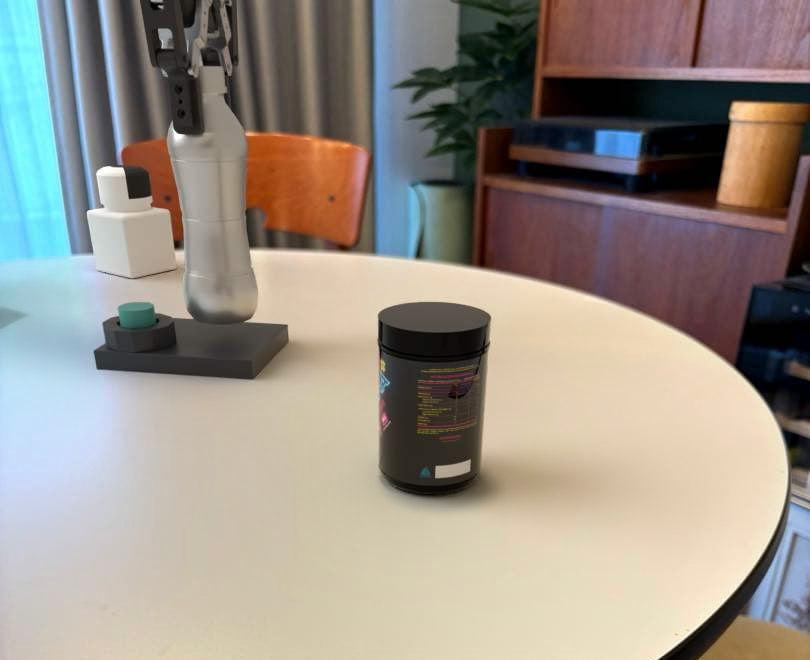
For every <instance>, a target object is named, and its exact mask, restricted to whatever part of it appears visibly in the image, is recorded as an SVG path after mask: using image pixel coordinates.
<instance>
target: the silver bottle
mask: <svg viewBox="0 0 810 660" xmlns="http://www.w3.org/2000/svg"><path fill="white" fill-rule="evenodd" d="M193 79H199V80H200V90H201V101H202V111H203V122H204V131H203V132H202V133H201V134H198V135H185V134H177V133H176V132H175V131H174V128H173V120H172V119H171V122H170V125H169V127H168V130H167V138H166V146H167V151H168V155H169V157H170V158H169V160H170V164H171V165H170V166H171V168H172V173H173V176H174V181H175V185H176V189H177V190H176V191H177V195H178V200H179V207H180V211H181V214H182V215H181V220H182V227H183V255H184V257H183V258H184V269H183V277H182V297H183V299H184V304H185V308H186V310H187V312H188V314H189V315H190V317H192V318H191V319H194V320H196V321H198V322H201V323H206V324H215V325H228V324H236V323H241V322H248V321H250V320H251V319H252V318H253V317H254V315H255V313H256V312H257V310H258V302H259V300H258V299H259V289H258V283H257V278H256V274H255V270H254V268H253V266H252V265H253V263H252V257H251V250H250V243H249V236H248V231H247V215H246V210H247V199H246V194H247V193H246V190H247V189H246V188H247V173H248V154H249V149H248V148H249V145H248V144H249V142H248V139H247V136H246V132H245V129H244V128H243V126H242V124H241V123H240V121H239V119H238V117H237V116H236V115H235V114H234V113H233V111H231V110H232V109H231V110H230V108H229V107H228V106H227V104H226V103H225V100H224V93H227V87H226V86H225V75H224V70H223V67H218V66H199V73H198V77H197V78H193Z"/></svg>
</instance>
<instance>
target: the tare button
mask: <svg viewBox="0 0 810 660" xmlns="http://www.w3.org/2000/svg"><path fill="white" fill-rule="evenodd" d="M117 312H118V316H119V319H120V325H121V327H128V328H140V327H148V326H152V325H156V324H157V323H156V316H155V313H156V309H155V305H154V303H151V302H146V301H132V302H126V303H122V304H120V305H119V306H118V307H117Z"/></svg>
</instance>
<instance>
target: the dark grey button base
mask: <svg viewBox="0 0 810 660" xmlns="http://www.w3.org/2000/svg"><path fill="white" fill-rule="evenodd" d="M155 316H156V323H157V324H156V325H152V326H148V327H140V328H128V327H121V325H120V319H119V315H116V316H112V317H109V318H108V319H106V320H104V321H102V323H101V324H102V325H101V326H102V330H103V337H104V343H102V345H100V346H98V347H97V348H95V349H94V350H93V356H94V357H93V358H94V362H95V368H96V370H101V371H118V372H130V373H131V372H133V373H146V374H147V373H148V374H163V375H177V376H190V377H191V376H192V377H205V378H206V377H207V378H219V379H220V378H221V379H235V380H236V379H237V380H251V381H252V380H254V379H255V378H256V377H257V376H258V375H259V374H260V373H261V371H263V370H264V368H266V367H267V366H268V364H269V363H271V362H272V360H274V358H275V357H276V356H277V355H278V354H279V353H280V352H281V351H282V350H283V348H285V346H286V345H287V344H288V343H289V342H290V339H289V324H286V323H269V322H253V321H251V322H250V321H245V322H241V323H236V324H228V325H215V324H206V323H201V322H198V321H196V320H194V319H193V318H182V317H172V316H170V315H167V314H164V313H159V312H155Z"/></svg>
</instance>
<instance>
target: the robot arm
mask: <svg viewBox="0 0 810 660" xmlns="http://www.w3.org/2000/svg"><path fill="white" fill-rule="evenodd" d="M237 1H238V0H139V4H140V10H141V16H142V22H143V28H144V34H145V39H146V45H147V50H148V51H147V52H148V56H149V61H150V65H151V66H152V68H153V69H154V68H155V69H161V72H162V75H163V77H164V78H167V82H168V83H167V84H168V85H167V86H168V93H169V101H170V102H169V103H170V110H171V121H172V120H173V128H174V131H175V132H176V133H177V134H185V135H198V134H201V133H202V132H203V131H204V122H203V111H202V101H201V90H200V80H199V79H193V78H197V77H198V73H199V66H218V67H223V70H224V75H225V86H226V87H227V93H224V100H225V103H226V104H227V106H228V107H229V108H230V110H231V111H232V100H231V99H232V98H231V88H230V87H231V86H230V78H229V77H231V76H232V75H233V67H236V68H237V67H238V66H239V63H240V62H239V61H240V55H239V31H238V29H239V28H238V27H239V26H238V25H239V24H238V2H237ZM232 112H233V111H232Z"/></svg>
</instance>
